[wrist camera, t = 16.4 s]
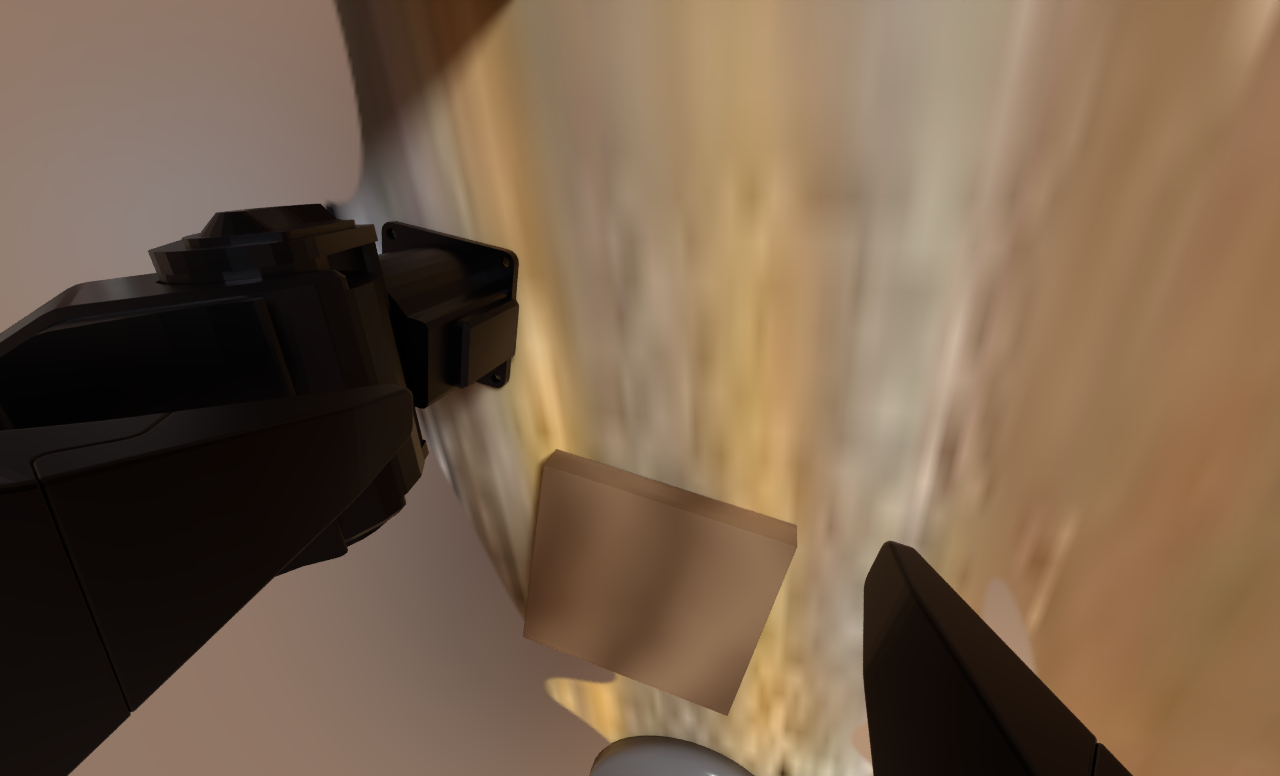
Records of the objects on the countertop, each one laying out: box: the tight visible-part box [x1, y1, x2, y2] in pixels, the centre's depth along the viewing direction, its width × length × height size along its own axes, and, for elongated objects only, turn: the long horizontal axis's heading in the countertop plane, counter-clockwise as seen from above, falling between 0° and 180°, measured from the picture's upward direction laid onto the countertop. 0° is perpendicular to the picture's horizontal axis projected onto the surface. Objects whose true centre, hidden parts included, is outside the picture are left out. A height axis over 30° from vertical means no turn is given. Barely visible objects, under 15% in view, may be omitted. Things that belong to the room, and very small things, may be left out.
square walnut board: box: [523, 450, 797, 716], centre depth 27 cm, size 12×12×2 cm
